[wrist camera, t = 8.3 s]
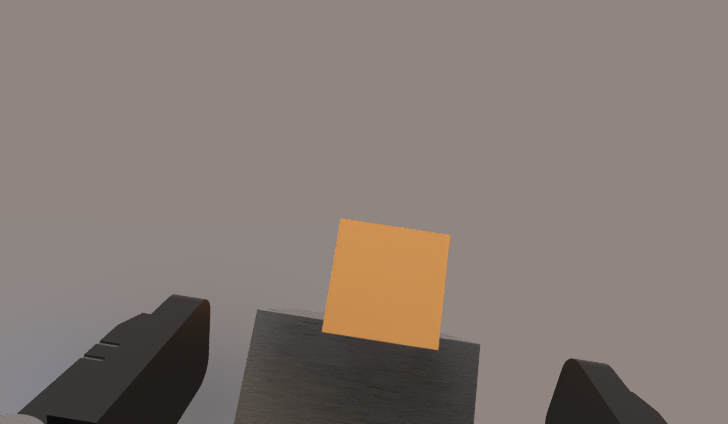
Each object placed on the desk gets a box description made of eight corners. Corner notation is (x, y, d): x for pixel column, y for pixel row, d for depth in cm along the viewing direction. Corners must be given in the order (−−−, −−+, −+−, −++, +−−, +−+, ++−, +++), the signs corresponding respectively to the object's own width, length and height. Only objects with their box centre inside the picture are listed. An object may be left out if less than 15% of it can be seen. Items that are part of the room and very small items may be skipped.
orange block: (438, 350, 10) (450, 234, 11) (321, 332, 11) (340, 218, 11) (382, 322, 30) (388, 281, 31) (342, 316, 30) (348, 275, 31)
